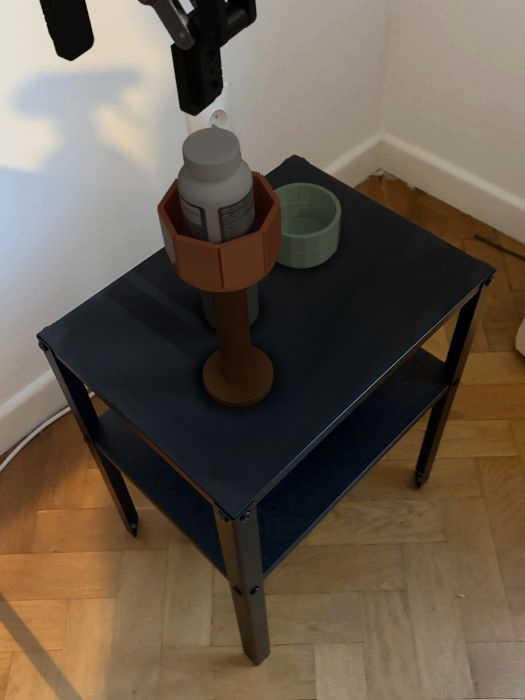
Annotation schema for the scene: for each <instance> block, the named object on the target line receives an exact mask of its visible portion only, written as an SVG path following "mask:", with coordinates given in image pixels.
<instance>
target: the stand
mask: <svg viewBox="0 0 525 700" xmlns="http://www.w3.org/2000/svg"><path fill="white" fill-rule="evenodd" d="M211 296H212V303H213V310H214V317H215V324H216V329H215V331H216V338H217V343H218V345H217V346H218V349H216V350H215V351H213V353H212V354H210V355H209V357H208V358H207V359H206V361H205V363H204V365H203V368H202V382H203V387H204V390H205V392H206V393H207V395H208V396H209V397H210V398H211V399H212V400H213V401H215V402H216V403H218V404H219V405H222V406H225V407H229V408H246V407H249V406H252V405H255V404H257V403H259V402H260V401H262V400H263V399H264V398H265V397H266V396H267V395H268V393H269V392H270V391H271V389H272V387H273V383H274V365H273V363H272V361H271V359H270V358H269V356H268V355H267V354H266V353H265V352H264V351H263V350H262V349H260V348H258V347H256V346H253V345H252V342H251V330H250V326H249V317H248V305H247V293H246V288H244V289H240V290H236V291H231V292H211Z"/></svg>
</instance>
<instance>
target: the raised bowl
mask: <svg viewBox="0 0 525 700" xmlns="http://www.w3.org/2000/svg"><path fill="white" fill-rule="evenodd" d="M251 173H252V179H253V197H254V210H255V226H256V232H254V233H251V234H248V235H245V236H242V237H240V238H237V239H234V240H231V241H228V242H225V243H222V244H219V245H217V244H213V243H209V242H205V241H202V240H198V239H194V238H190V237H186V231H185V225H184V219H183V213H182V208H181V202H180V196H179V191H178V184H177V179H178V177H176V178H175V179H174V180H173V182H171V185H170V186H169V188H168V189H167V191H165V193H164V195H163V197H162V198H161V200H160V201H159V203H157V205H156V207H157V209H156V210H157V216H158V221H159V225H160V230H161V235H162V241H163V244H164V250H165V252H166V254H167V256H168V258H169V259H170V264H171V266H172V269H173V271H174V272H175V274H176V275H177V276H178V277H179V278H180V279H181V280H182V281H183V282H185V283H186V284H188V285H190V286H191V287H194V288H196V289H199V290H200V289H201V290H205V291H211V292H231V291H236V290H240V289H244V288H246V287H249V286H251V285H253V284H255V283H257V284H258V282H259V281H262V280H263V279H264V278H265V277H266V276H267V275H268V274H269V273H270V272H271V271H272V269H273V268H274V266H275V264H276V260H277V256H278V251H279V249H280V247H281V245H282V237H281V200H280V199H279V197H278V196H277V194H276V193H275V192H274V190H275V189H274V188H273V187H272V186H271V184H270V182H268V181H269V180H267V178H266V177H265V175H264V174H262V173H261V172H258V171H254V170H251Z"/></svg>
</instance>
